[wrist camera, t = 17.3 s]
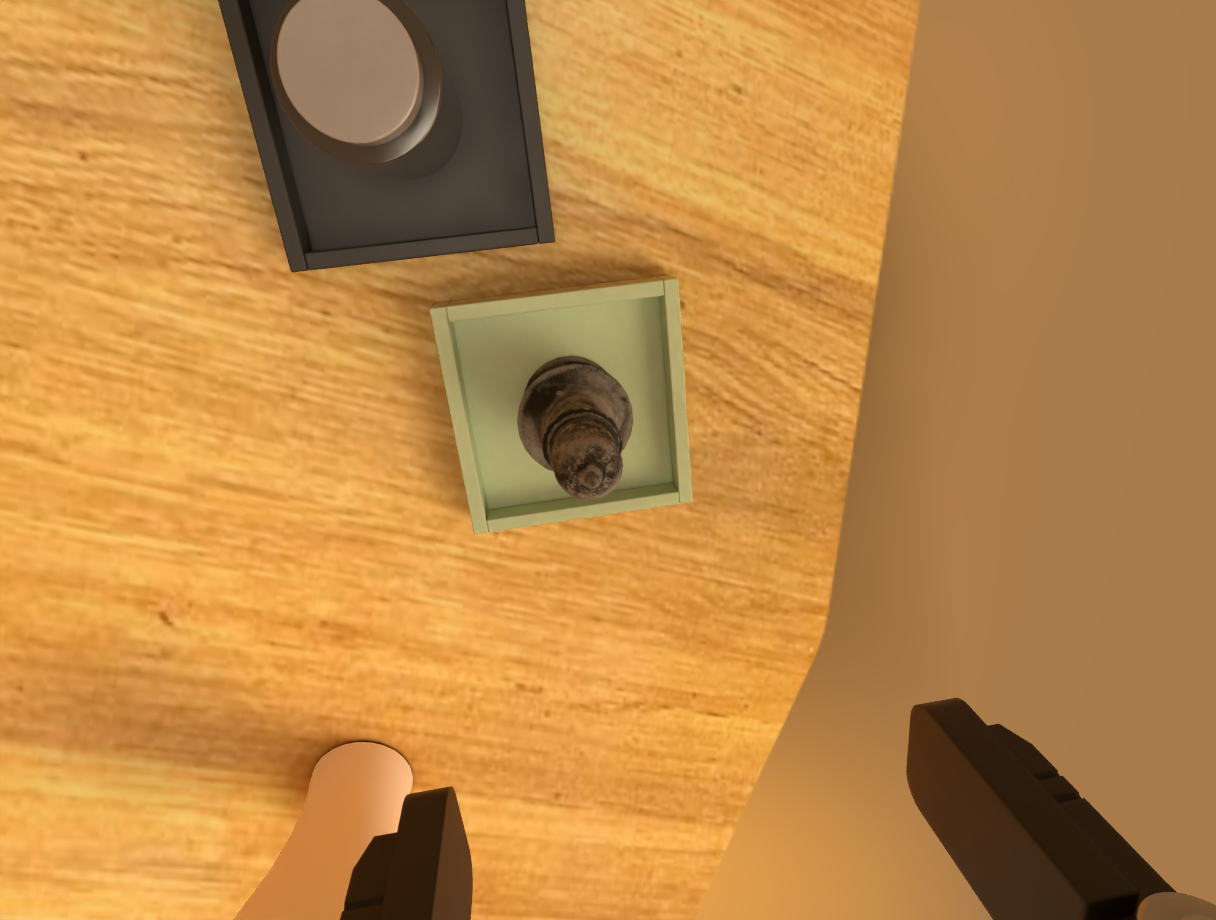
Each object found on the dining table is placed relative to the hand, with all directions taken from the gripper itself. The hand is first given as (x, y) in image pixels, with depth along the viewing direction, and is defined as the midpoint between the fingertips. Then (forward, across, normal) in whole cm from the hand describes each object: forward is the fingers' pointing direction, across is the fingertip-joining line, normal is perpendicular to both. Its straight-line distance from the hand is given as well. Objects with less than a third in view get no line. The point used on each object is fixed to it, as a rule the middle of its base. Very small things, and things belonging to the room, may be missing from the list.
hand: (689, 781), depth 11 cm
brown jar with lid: (+27, +6, -14) cm, 31 cm away
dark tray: (+27, +6, -14) cm, 32 cm away
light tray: (+27, 0, +1) cm, 27 cm away
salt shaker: (+27, 0, 0) cm, 27 cm away
